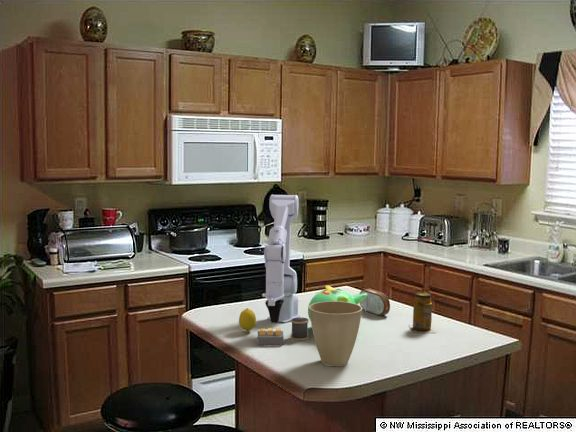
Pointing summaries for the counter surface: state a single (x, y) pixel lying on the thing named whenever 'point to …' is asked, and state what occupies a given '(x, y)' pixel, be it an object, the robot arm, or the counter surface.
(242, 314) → the lemon
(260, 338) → the breaker strip
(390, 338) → the counter surface
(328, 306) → the plant pot
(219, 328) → the counter surface
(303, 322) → the cord spool
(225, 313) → the counter surface
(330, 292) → the green toy teapot
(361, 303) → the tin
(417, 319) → the condiment
